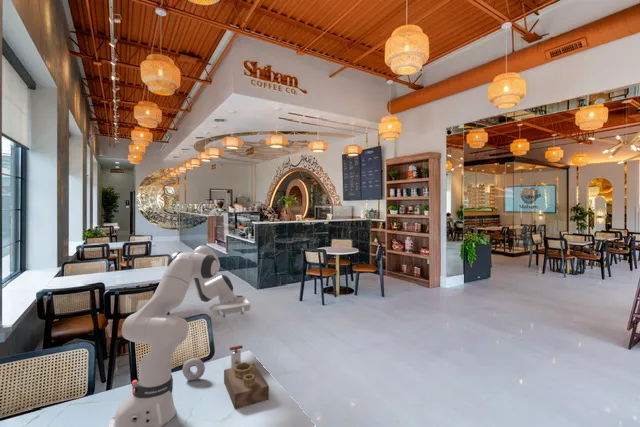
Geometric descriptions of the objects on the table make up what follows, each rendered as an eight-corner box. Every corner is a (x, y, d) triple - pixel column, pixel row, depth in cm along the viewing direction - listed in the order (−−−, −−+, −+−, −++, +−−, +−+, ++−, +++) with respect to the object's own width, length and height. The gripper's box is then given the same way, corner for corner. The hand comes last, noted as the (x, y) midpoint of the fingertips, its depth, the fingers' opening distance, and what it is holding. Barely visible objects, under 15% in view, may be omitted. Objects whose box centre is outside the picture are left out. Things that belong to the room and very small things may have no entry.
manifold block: (234, 409, 129) (234, 386, 129) (224, 382, 149) (224, 363, 149) (268, 399, 136) (268, 378, 136) (254, 375, 155) (254, 356, 155)
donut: (181, 382, 149) (181, 360, 149) (183, 378, 152) (183, 357, 152) (204, 381, 150) (204, 359, 150) (205, 377, 154) (205, 356, 154)
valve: (230, 376, 155) (230, 349, 155) (228, 371, 159) (228, 346, 159) (243, 373, 157) (243, 347, 157) (240, 368, 162) (241, 343, 162)
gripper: (209, 300, 175) (211, 312, 163) (247, 295, 184) (252, 305, 171) (209, 311, 176) (212, 324, 164) (247, 305, 185) (252, 316, 172)
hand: (233, 314), depth 168 cm, fingers open, 8 cm apart
